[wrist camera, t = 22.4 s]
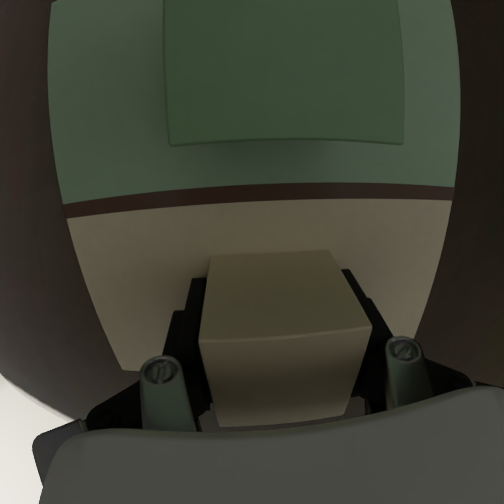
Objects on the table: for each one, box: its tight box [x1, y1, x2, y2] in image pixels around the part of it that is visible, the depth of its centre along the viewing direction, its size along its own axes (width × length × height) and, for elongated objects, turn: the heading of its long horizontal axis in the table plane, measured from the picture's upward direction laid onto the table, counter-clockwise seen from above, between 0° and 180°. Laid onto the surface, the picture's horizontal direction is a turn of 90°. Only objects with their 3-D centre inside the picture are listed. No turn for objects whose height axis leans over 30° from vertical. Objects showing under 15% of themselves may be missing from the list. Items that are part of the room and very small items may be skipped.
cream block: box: [198, 250, 372, 427], centre depth 10 cm, size 4×4×4 cm
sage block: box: [163, 0, 405, 147], centre depth 6 cm, size 4×4×4 cm
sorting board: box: [48, 0, 460, 371], centre depth 10 cm, size 16×18×1 cm
